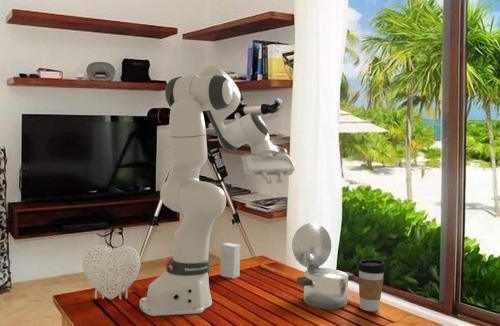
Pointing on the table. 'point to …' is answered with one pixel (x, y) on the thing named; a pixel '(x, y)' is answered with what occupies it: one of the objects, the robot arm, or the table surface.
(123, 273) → the decorative heart
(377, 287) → the coffee cup
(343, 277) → the cooker pot
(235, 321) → the table surface
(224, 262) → the skincare box
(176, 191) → the robot arm
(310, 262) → the lid
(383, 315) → the table surface
